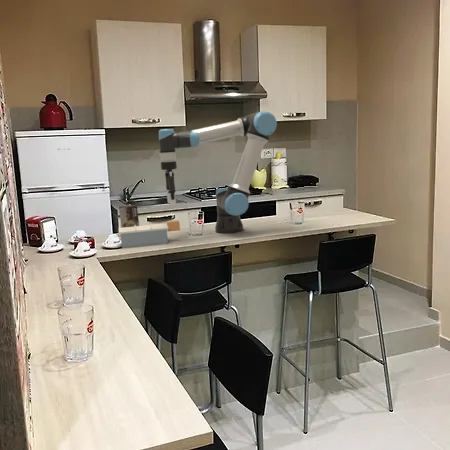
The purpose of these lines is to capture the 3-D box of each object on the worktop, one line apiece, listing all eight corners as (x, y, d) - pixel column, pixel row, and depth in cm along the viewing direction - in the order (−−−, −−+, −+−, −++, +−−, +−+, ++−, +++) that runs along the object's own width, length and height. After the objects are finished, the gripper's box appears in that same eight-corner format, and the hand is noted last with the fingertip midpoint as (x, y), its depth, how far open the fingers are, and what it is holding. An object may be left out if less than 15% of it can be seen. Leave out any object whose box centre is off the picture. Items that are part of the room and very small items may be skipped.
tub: (166, 240, 264) (164, 225, 263) (168, 245, 253) (166, 229, 251) (122, 245, 260) (120, 229, 259) (122, 250, 249) (120, 233, 247)
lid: (178, 227, 265) (177, 218, 264) (181, 231, 253) (180, 222, 252) (119, 233, 259) (118, 224, 259) (119, 238, 247) (118, 228, 246)
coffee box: (137, 232, 292) (135, 204, 289) (140, 234, 286) (137, 205, 283) (121, 234, 289) (118, 206, 286) (123, 236, 283) (120, 207, 280)
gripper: (158, 160, 264) (162, 202, 267) (162, 162, 239) (166, 208, 243) (173, 159, 265) (176, 200, 269) (179, 161, 241) (182, 207, 245)
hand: (171, 204), depth 256 cm, fingers open, 13 cm apart
